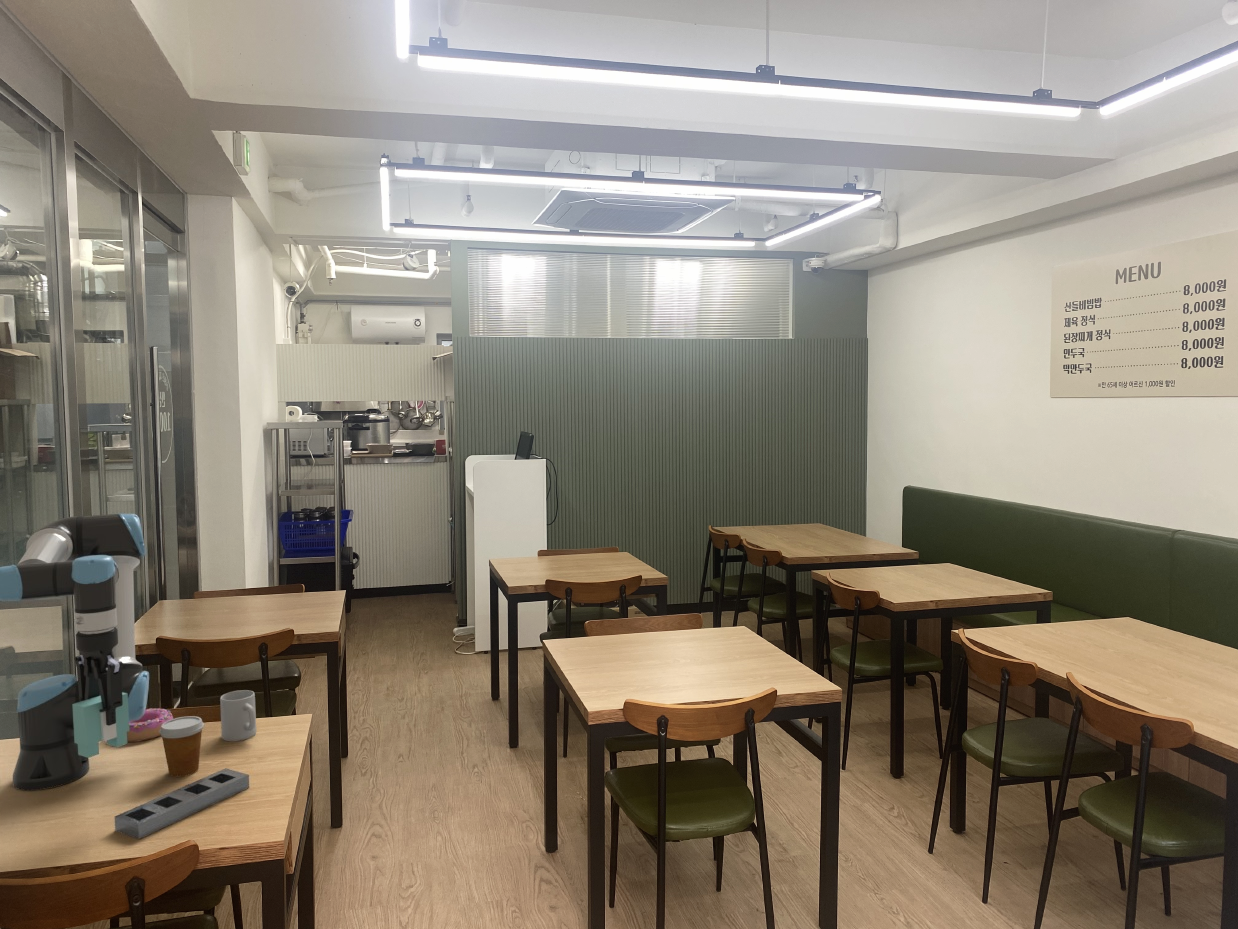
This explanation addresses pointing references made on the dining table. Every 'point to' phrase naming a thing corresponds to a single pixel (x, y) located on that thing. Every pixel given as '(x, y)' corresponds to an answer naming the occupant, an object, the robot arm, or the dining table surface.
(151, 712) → the donut
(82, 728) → the mint green arch block
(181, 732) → the disposable coffee cup
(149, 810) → the grey long flat bar
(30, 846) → the dining table surface
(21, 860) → the dining table surface
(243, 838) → the dining table surface
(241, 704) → the mug
